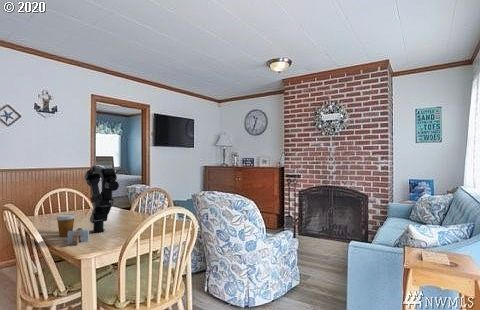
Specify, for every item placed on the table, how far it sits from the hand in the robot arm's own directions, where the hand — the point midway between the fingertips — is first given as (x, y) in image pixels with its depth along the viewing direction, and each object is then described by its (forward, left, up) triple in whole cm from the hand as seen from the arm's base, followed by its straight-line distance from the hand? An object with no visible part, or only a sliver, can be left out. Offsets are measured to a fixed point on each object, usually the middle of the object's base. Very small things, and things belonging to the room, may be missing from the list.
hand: (106, 215), depth 170 cm
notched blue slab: (+8, -13, -12) cm, 20 cm away
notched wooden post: (+8, -14, -12) cm, 20 cm away
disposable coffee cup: (-8, -23, -12) cm, 27 cm away
